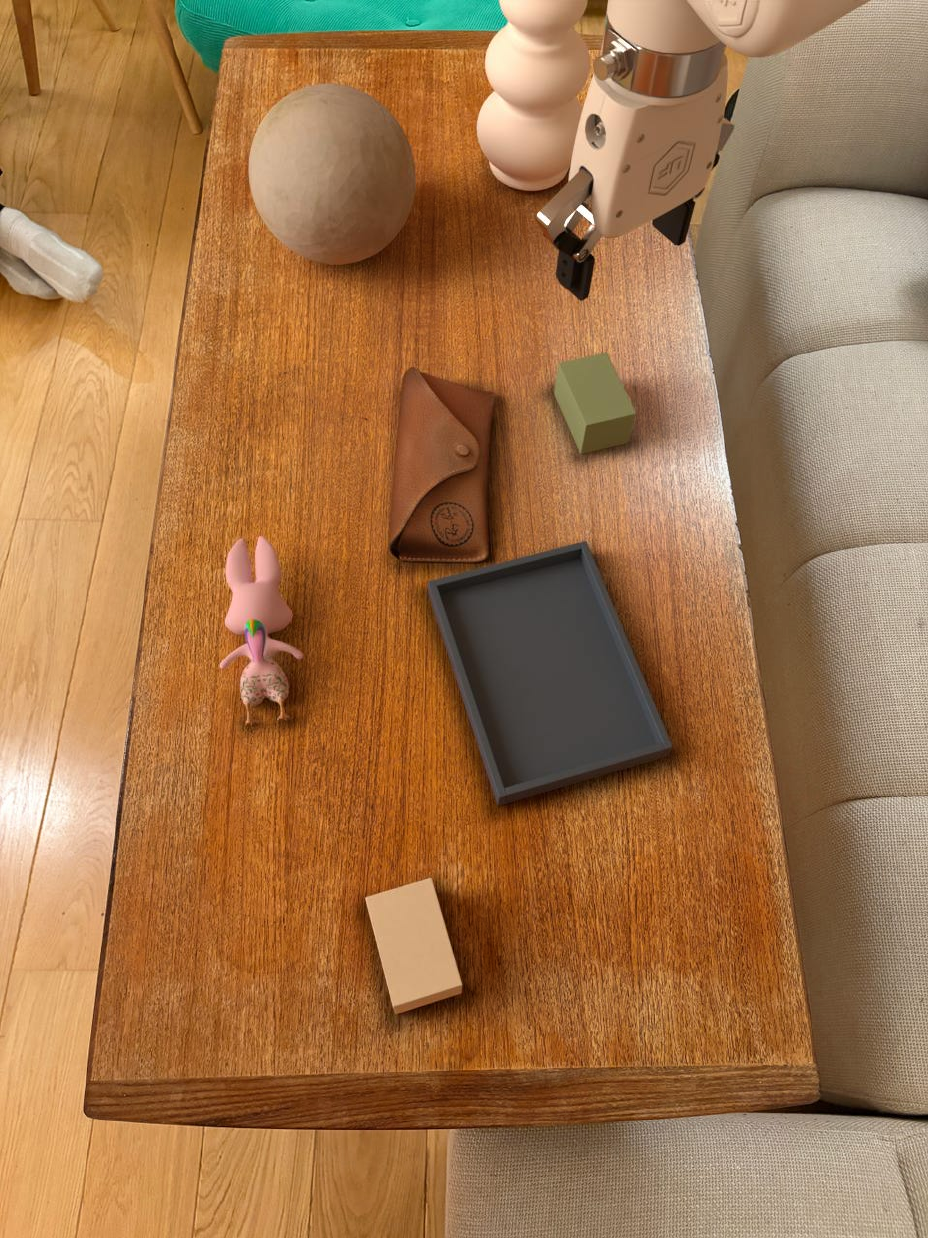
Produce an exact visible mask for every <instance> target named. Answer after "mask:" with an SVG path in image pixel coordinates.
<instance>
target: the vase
mask: <svg viewBox="0 0 928 1238" xmlns="http://www.w3.org/2000/svg"><path fill="white" fill-rule="evenodd" d="M498 3H499V6H500V10H501V12H502V14H503V16H504V17H505V19H506V20H507V23H506V25H504V26H503V27H502V28H501V29H499V31H498V32H497V33H495V34H494V36H493V37H492V39H491V41H490V42H489V44H488V46H487V50H486V54H485V57H484V69H485V74H486V78H487V80H488V83H489V84H490V87H491V88H492V89H493V91H492V92H491V94H489V96H487V98H486V99H485V101H484V102H483V103H482V105H481V107H480V110H479V112H478V116H477V121H476V137H477V141H478V144H479V147H480V149H481V151H482V153H483V155H484V156H485V158H486V159H487V161H488V162H489V168H490V170H491V172H492V174H493V176H494V177H495V178H496V179H497V180H498V181H499V182H500V183H502V184H503V185H506V186H507V187H510V188H511V189H515V190H519V191H525V192H536V191H537V192H538V191H542V190H547V189H550V188H552V187H554V186H556V185H557V184H560V182H561V181H562V180H564V178H565V177H566V175H567V174H568V173H569V170H570V166H571V159H572V154H573V149H574V143H575V138H576V134H577V130H578V125H579V121H580V117H581V114H582V110H583V105H582V103H581V102H580V100H579V98H577V96H578V95H579V94H580V93H581V91H582V90H583V89H584V88H585V86H586V84H587V82H588V80H589V76H590V72H591V55H590V51H589V48H588V46H587V44H586V42H585V40H584V38H583V37H582V35H580V33H579V32H578V31H577V30H576V28H575V25H576V24H577V23H578V22H579V21H580V20H581V19H582V18H583V16H584V14H585V11H586V9H587V6H588V0H498Z"/></svg>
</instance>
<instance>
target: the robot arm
mask: <svg viewBox="0 0 928 1238" xmlns="http://www.w3.org/2000/svg"><path fill="white" fill-rule="evenodd" d="M871 1H872V0H607V8H606V11H605V18H604V25H603V33H602V40H601V48H600V54H599V56H597V57H595V58H594V60H593V64H592V67H593V69H592V70H593V75H592V78H591V81H590V84H589V86H588V89H587V93H586V96H585V99H584V103H583V105H582V107H583V110H582V114H581V117H580V121H579V125H578V130H577V134H576V138H575V143H574V149H573V154H572V159H571V166H569V171H568V181H567V183H566V184H565V185H564V186H563V187H562V188H561V189H560V190H559V191H558V192H557V193H556V194H555V195H554V196H553V197H552V198H551V199H550V200H549V201H548V202H547V203H546V204H545V205H544V206H543V207H542V208H541V209H540V210H539V212H538V213H537V214H536V217H535V221H536V223H537V225H538V227H539V228H540V230H541V232H542V236H543V237H544V238H545V239H546V240H548V241H549V243H551V245H552V246H554V247H555V248H556V249H557V250H558V252H557V262H556V270H555V278H556V279H557V282H558V283H559V284H560V286H562V287H563V288H564V289H565V290H568V291H569V292H570V293H571V294H572V295H573V296H574V297H575V298H576V299H578V300H579V301H580V302H583V301H584V300H586V299H589V295H590V292H591V287H592V286H591V285H592V280H593V275H594V268H595V263H596V259H595V256H594V255H593V254H592V252H593V250H594V249H595V247H596V246H597V244H598V243H599V241H600V240H601V238H602V237H604V238H605V239H615V238H619V237H622V236H625V235H627V234H629V233H631V232H633V231H635V230H637V229H639V228H641V227H642V226H645V225H646V224H648V223H650V222H651V223H652V227H653V228H654V229H655V230H657V231H658V232H659V233H660V234H661V235H663V236H664V237H665V238H666V239H667V240H668V241H669V242H670V243H672V244H673V245H674V246H677V247H679V246H681V245H684V244H685V243H686V241H687V237H688V233H689V229H690V226H691V222H692V218H693V214H694V211H695V207H696V201H695V200H697V199H699V198H700V197H701V196H702V195H703V193H704V192H705V190H706V186H707V184H708V183H709V180H710V177H711V174H712V171H713V170H714V168H716V167H717V166H718V164H719V163H720V158H721V155H720V152H722V151H723V150H724V148H725V146H726V144H727V143H728V141H729V139H730V138H731V136H732V135H733V132H734V131H735V124H734V123H732V122H731V121H730V120H728V119H727V118H725V117H724V116H725V109H726V101H727V92H728V76H729V75H728V73H729V71H728V70H729V69H728V68H729V67H728V66H729V65H728V58H727V55H726V49H727V48H728V49H730V50H732V51H733V52H735V53H737V54H739V55H742V56H745V57H748V58H766V57H770V56H775V55H778V54H780V53H782V52H784V51H786V50H789V49H791V48H793V47H794V46H796V45H798V44H800V43H801V42H803V41H805V40H806V39H808V38H810V37H811V36H813V35H815V34H817V33H818V32H820V31H822V30H823V29H825V28H827V27H828V26H829V27H830V25H833V24H835V22H837V21H838V20H840V19H842V18H843V17H845V16H847V15H848V14H850V13H852V12H853V11H855V10H857V9H858V8H861V7H862V6H864V5H866V4H867V3H869V2H871ZM589 205H590V206H589ZM583 218H584V219H585V220H586V221H588V223H589V224H591V225H590V226H589V227H588V229H587V231H586V232H585V233H584V235H583V236H582V237H579V236H578V235H577V234H576V233H575V232H574V231H575V229H576V228H577V226H578V225H579V223H580V222H581V220H582V219H583Z"/></svg>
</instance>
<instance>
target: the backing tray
mask: <svg viewBox="0 0 928 1238" xmlns="http://www.w3.org/2000/svg"><path fill="white" fill-rule="evenodd" d="M427 594H428V598H429V601H430V604H431V607H432V610H433V613H434V616H435V620H436V622H437V625H438V627H439V631H440V634H441V637H442V640H443V641H442V642H443V643H444V647H445V649H446V652H447V656H448V659H449V663H450V665H451V668H452V672H453V674H454V677H455V680H456V683H457V687H458V689H459V693H460V696H461V699H462V701H463V705H464V708H465V711H466V714H467V716H468V720H469V723H470V726H471V729H472V732H473V735H474V738H475V742H476V744H477V747H478V750H479V753H480V757H481V760H482V762H483V766H484V770H485V771H486V775H487V778H488V781H489V784H490V787H491V790H492V792H493V797H494V799H495V802H496V805H497V807H499V806H503V805H506V804H509V803H513V802H517V801H520V800H524V799H527V798H530V797H533V796H538V795H541V794H543V793H547V792H551V791H555V790H558V789H561V788H564V787H565V788H566V787H568V786H571V785H574V784H578V783H582V782H585V781H588V780H591V779H595V778H599V777H602V776H605V775H609V774H613V773H616V772H619V771H623V770H626V769H629V768H633V767H636V766H639V765H643V764H647V763H650V762H653V761H658V760H660V759H664V758H666V757H669V755H670V753H671V751H672V749H673V747H674V746H673V743H672V741H671V739H670V736H669V734H668V732H667V729H666V727H665V724H664V722H663V720H662V718H661V715H660V712H659V710H658V708H657V705H656V703H655V701H654V698H653V696H652V694H651V691H650V689H649V687H648V685H647V682H646V679H645V677H644V674H643V672H642V670H641V667H640V665H639V663H638V661H637V657H636V656H635V653H634V651H633V648H632V646H631V643H630V641H629V639H628V637H627V634H626V632H625V630H624V629H625V628H624V627H623V625H622V622H621V620H620V618H619V615H618V613H617V611H616V608H615V605H614V604H613V601H612V599H611V597H610V594H609V592H608V589H607V586H606V584H605V582H604V579H603V577H602V574H601V573H600V570H599V568H598V565H597V563H596V560H595V558H594V555H593V554H592V550H591V549H590V546H589V544H588V541H587V540H584V541H580V542H577V543H572V544H569V545H566V546H565V545H564V546H561V547H557V548H553V549H548V550H544V551H541V552H537V553H533V554H529V555H525V556H521V557H517V558H513V559H510V560H505V561H502V562H499V563H493V564H490V565H487V566H482V567H478V568H474V569H471V570H467V571H463V572H459V573H456V574H455V573H454V574H451V575H447V576H444V577H439V578H435V579H432V580H428V581H427Z"/></svg>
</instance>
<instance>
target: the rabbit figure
mask: <svg viewBox="0 0 928 1238" xmlns="http://www.w3.org/2000/svg"><path fill="white" fill-rule="evenodd" d="M225 564H226V565H225V579H226V584H227V585H228V587H229V588H230V590H231V592H232V598H231V602H230V605H229V609H228V610H227V614H226V616H225V619H224V625H225V627H226V628H227V629H228V630H229V631H230V632H232V633H233V634H235V635H237V636H244V637H245V642H246V643H244V644H242V645H240V646H239V647H237V648H236V649H234V650H233V651H231V652H230V653H228V655H226V657H225V658H223V660H222V661H221V662H220V664H219V668H220V669H221V670H226V669H227V668H228V667H229V666H230V664H231V663H232V662H233V661H234V660H236V659H239V658H241V657H247V658H248V659H249V660H250V662H249V663H248V664H247V665H246V666H245V668H244V669H243V671H242V674H241V676H240V682H239V691H240V698H241V701H242V703H243V705H244V706H245V709H246V716H247V717H246V720H245V726H247V725H248V724H250V725H251V726H252V725H253V724H255V723H257V724H259V720H256V719H254V718H253V716H252V715H251V709H252V707H253V706H257V705H259V704H261V703H262V702H263V700H265V698H266V699H269V701H271V702H273V703H277V704H278V705H279V706H280V715H279V716H278V717H277V721H279V720H285V721H287V719H288V720H291V717H290V715H289V714H287V713H286V712H285V709H284V702H285V700H286V699H287V698H288V696H289V693H290V687H289V681H288V678H287V676H286V674H285V672H284V670H283V669H282V667H281V666H280V664H278V663H277V662H276V661H274V660H275V656H276V654H277V653H279V652H285V653H289V654H291V655H292V656H293V657H294V658H296V659H297V660H302V659H303V658H304V653H303V652H302V651H300V650H299V649H297V647H295V646H293V645H291V644H289V643H287V642H284V641H281V640H276V639H273V638H270V637H269V635H270V634H272V633H277V632H280V631H282V630H284V629H285V628H287V626H288V625H289V624H290V623H291V622H292V619H293V611H292V610H291V609H290V607H289V605H287V602H286V601H285V600H284V598H283V597H282V595H281V593H280V590H279V585H280V582H281V577H282V569H281V564H280V560H279V558H278V553H277V552H276V549H275V548H274V545H272V543H271V542H270V541H269V540H268V539H267V538H266V537H265V536H263V535H259V536H258V538H257V543H256V547H255V551H254V566H255V567H254V572H255V581H254V580H253V571H252V563H251V556H250V552H249V549H248V546H247V543H246V540H245V538H243V537H241V538H239V539H238V540H237V541H236V542H234V544H233V546H232V547H231V549H230V550H229V552H228V555H227V557H226V563H225Z"/></svg>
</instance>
